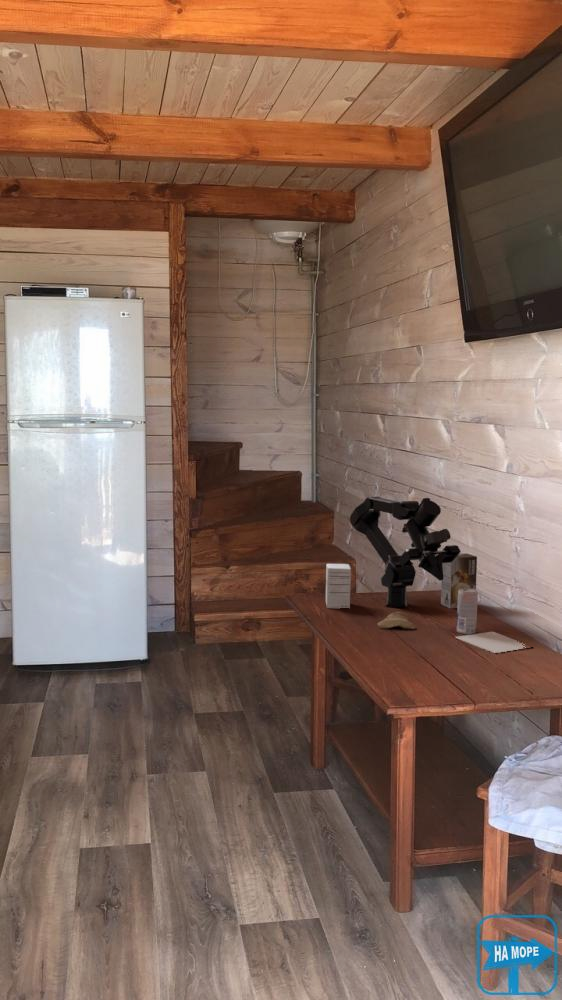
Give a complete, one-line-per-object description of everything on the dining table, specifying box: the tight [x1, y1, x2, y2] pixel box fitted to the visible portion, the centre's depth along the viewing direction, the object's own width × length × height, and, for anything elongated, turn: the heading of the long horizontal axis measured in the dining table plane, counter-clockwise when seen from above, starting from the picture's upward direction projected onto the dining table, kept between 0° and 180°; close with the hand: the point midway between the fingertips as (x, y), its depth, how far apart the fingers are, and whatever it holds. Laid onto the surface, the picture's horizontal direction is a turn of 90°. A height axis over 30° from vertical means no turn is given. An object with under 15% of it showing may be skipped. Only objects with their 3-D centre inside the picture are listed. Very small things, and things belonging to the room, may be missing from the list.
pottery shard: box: [377, 611, 417, 630], centre depth 248 cm, size 11×4×10 cm
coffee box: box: [440, 553, 478, 609], centre depth 272 cm, size 9×6×16 cm
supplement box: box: [325, 563, 352, 609], centre depth 269 cm, size 7×7×13 cm
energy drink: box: [455, 588, 479, 635], centre depth 242 cm, size 5×5×12 cm
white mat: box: [455, 631, 526, 654], centre depth 232 cm, size 16×13×1 cm
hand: (441, 579), depth 251 cm, fingers closed
